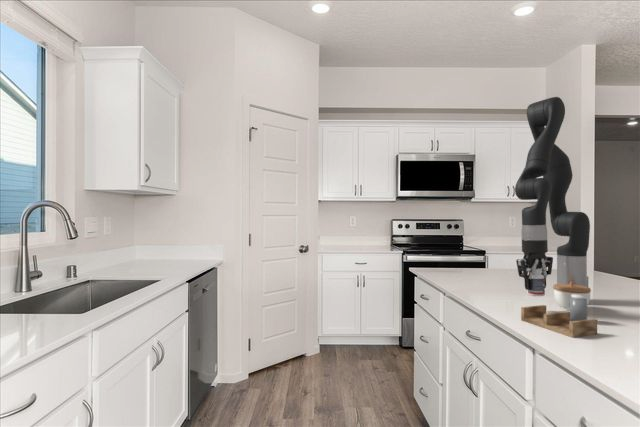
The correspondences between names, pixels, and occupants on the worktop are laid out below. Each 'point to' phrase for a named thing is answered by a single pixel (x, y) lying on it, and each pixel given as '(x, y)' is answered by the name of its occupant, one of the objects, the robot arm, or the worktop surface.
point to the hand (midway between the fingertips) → (535, 288)
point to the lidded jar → (569, 294)
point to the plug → (578, 307)
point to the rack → (558, 321)
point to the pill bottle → (537, 284)
